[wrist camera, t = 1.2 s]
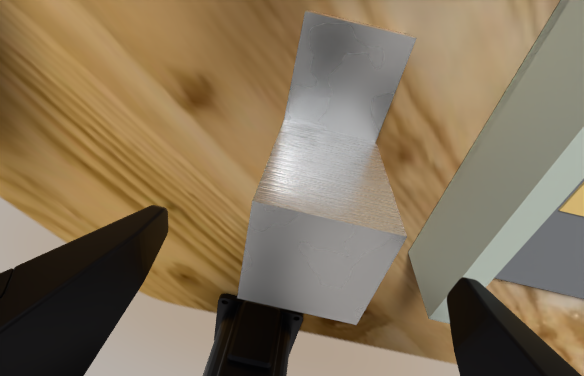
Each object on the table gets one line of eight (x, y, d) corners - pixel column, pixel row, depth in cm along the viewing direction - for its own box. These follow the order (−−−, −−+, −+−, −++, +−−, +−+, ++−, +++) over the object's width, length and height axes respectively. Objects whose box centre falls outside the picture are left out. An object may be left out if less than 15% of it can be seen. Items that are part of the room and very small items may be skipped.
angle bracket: (345, 191, 16) (356, 325, 10) (275, 175, 16) (236, 298, 9) (404, 33, 12) (500, 73, 5) (308, 9, 12) (281, 20, 5)
